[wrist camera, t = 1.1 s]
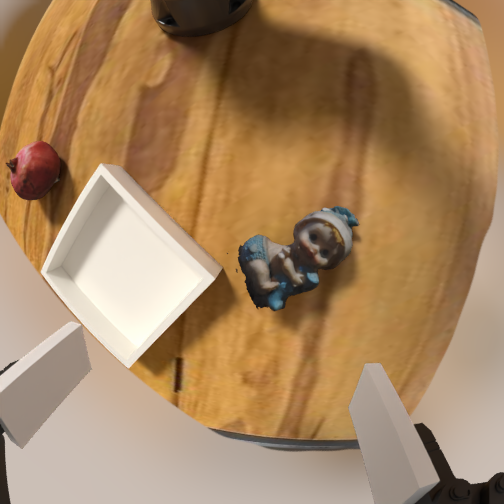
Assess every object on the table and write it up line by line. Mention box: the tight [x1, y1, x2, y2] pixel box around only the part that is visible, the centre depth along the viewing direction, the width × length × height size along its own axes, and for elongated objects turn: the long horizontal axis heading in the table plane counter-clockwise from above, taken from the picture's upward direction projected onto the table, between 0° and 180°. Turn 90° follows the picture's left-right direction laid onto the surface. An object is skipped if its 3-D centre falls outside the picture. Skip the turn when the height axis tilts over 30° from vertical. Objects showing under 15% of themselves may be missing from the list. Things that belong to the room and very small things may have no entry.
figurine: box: [227, 206, 359, 311], centre depth 30 cm, size 9×8×15 cm
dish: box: [41, 163, 223, 368], centre depth 33 cm, size 20×20×5 cm
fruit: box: [6, 141, 61, 200], centre depth 29 cm, size 9×10×10 cm
